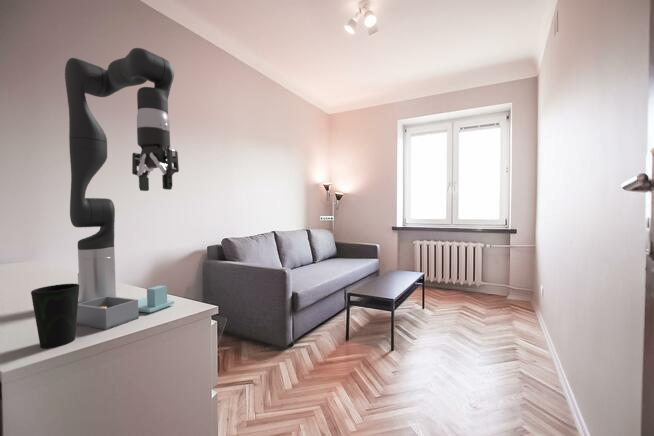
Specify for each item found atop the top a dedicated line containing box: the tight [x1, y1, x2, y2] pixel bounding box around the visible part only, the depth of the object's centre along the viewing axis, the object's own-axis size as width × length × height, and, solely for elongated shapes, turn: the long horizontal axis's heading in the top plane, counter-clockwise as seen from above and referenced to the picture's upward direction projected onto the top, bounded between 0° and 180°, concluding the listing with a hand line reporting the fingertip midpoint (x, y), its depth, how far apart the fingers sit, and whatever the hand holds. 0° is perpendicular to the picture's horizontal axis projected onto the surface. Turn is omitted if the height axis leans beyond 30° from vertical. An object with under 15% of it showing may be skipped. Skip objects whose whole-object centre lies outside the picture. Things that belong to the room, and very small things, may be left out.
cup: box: [30, 283, 79, 349], centre depth 63 cm, size 8×8×12 cm
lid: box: [137, 285, 175, 314], centre depth 85 cm, size 12×8×7 cm, turn 70°
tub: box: [76, 296, 140, 331], centre depth 75 cm, size 12×8×5 cm, turn 69°
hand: (155, 190), depth 78 cm, fingers open, 8 cm apart
